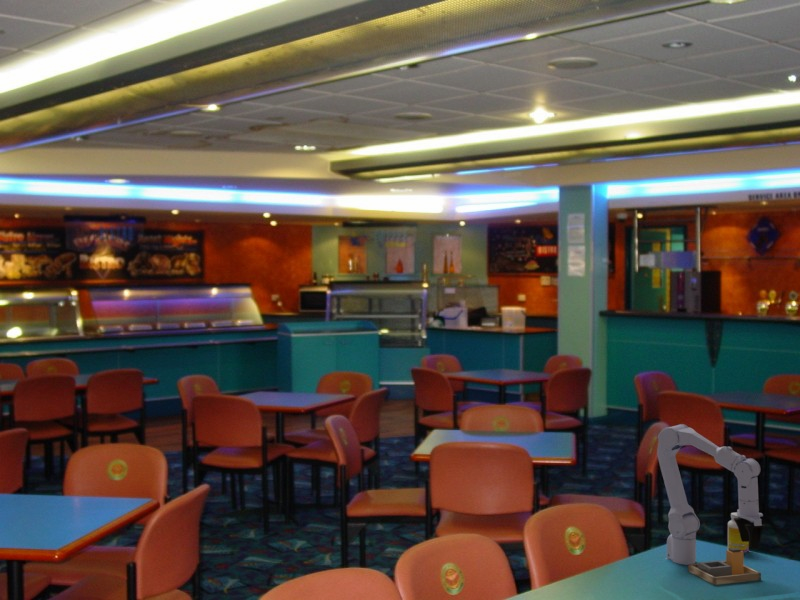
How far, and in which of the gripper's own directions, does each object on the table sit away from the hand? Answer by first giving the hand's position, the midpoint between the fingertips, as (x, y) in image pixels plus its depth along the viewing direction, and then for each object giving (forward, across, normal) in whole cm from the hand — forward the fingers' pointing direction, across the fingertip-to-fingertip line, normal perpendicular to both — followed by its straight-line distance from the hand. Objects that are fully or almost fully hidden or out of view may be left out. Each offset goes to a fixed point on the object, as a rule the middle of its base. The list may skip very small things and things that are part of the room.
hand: (750, 544), depth 304 cm
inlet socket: (+9, 0, +11) cm, 14 cm away
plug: (+9, +2, +4) cm, 10 cm away
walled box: (+10, +1, +8) cm, 13 cm away
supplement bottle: (+10, +28, -6) cm, 30 cm away
